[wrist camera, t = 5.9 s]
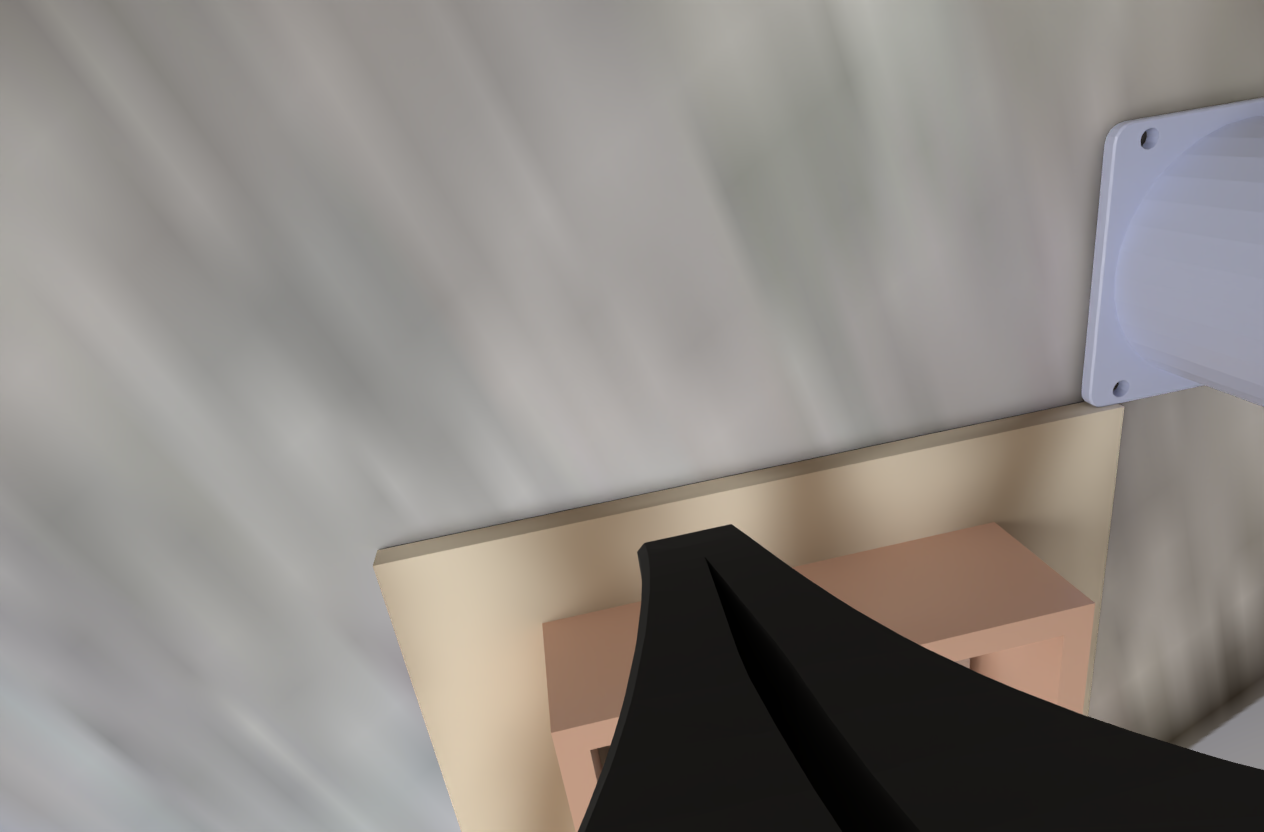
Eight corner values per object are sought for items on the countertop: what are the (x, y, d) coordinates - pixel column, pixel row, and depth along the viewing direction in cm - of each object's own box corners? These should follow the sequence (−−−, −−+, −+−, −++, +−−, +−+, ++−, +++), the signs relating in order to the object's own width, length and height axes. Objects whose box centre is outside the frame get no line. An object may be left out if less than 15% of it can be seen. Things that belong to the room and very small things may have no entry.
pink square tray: (994, 521, 23) (1095, 603, 19) (978, 839, 28) (1055, 953, 24) (542, 623, 21) (551, 733, 18) (616, 936, 27) (635, 1073, 23)
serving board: (1104, 397, 23) (1124, 406, 22) (1056, 849, 30) (1069, 867, 30) (377, 550, 21) (373, 565, 20) (522, 994, 28) (523, 1017, 27)
